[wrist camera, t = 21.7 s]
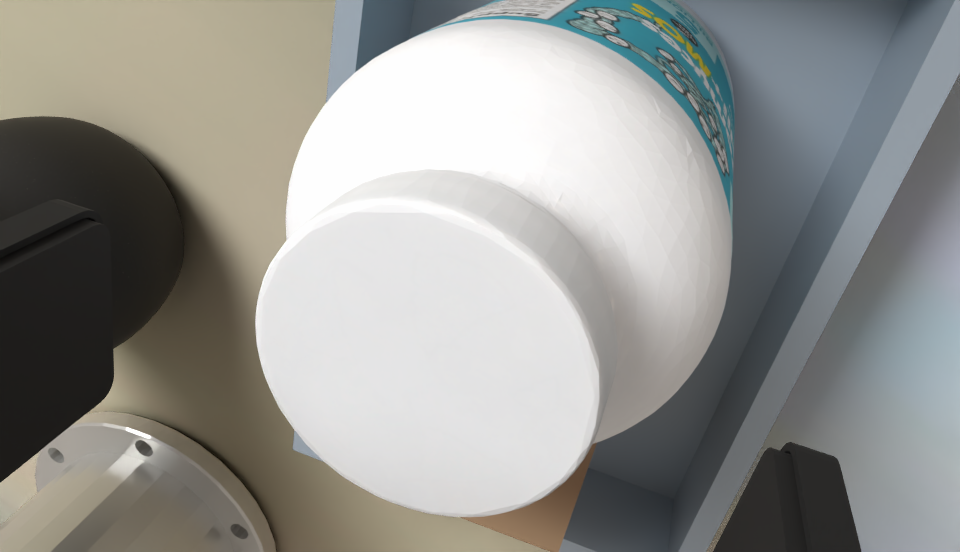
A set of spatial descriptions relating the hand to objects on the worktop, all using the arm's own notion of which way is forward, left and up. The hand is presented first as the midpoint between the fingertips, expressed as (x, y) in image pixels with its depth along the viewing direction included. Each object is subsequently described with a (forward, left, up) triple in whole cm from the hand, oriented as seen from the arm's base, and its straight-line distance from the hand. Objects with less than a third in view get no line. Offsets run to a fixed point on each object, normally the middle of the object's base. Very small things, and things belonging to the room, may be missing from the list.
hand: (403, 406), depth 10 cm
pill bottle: (+1, 0, -13) cm, 13 cm away
